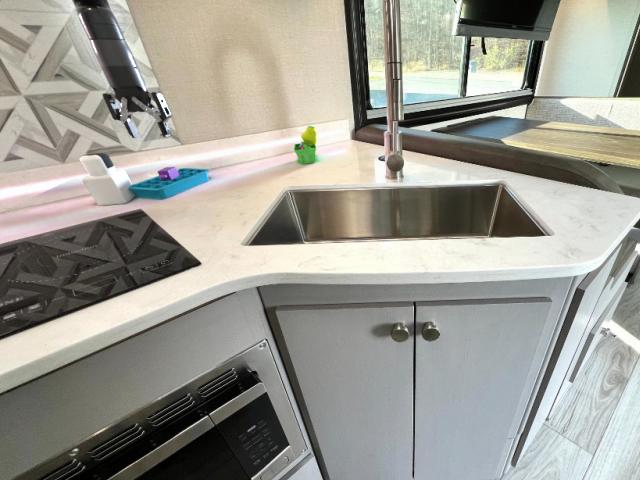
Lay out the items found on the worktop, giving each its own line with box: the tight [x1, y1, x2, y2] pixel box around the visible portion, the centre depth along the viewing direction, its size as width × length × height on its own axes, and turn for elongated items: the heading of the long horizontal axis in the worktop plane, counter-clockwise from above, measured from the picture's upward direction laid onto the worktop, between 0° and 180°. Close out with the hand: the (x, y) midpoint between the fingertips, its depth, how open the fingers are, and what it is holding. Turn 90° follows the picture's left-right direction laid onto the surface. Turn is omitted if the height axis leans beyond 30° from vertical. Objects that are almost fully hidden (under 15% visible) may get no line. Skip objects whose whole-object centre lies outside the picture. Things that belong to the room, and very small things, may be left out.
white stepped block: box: [78, 152, 137, 207], centre depth 84 cm, size 7×7×12 cm
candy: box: [157, 166, 179, 180], centre depth 93 cm, size 3×7×2 cm, turn 1°
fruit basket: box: [293, 125, 318, 165], centre depth 114 cm, size 11×9×11 cm
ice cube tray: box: [128, 167, 210, 200], centre depth 94 cm, size 12×20×3 cm, turn 165°
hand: (151, 137), depth 87 cm, fingers open, 8 cm apart
